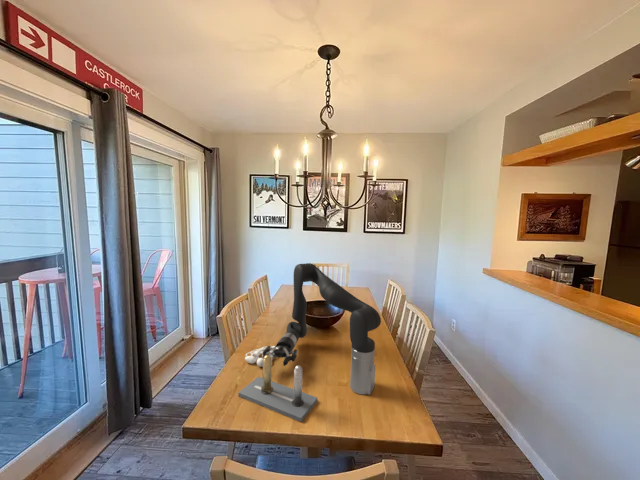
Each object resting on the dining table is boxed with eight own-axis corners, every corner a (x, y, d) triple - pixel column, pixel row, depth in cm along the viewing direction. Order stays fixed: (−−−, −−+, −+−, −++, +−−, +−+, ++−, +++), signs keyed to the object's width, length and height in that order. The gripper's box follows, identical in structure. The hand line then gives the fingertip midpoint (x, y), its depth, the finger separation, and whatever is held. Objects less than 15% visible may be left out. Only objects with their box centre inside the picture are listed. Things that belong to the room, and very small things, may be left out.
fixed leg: (303, 401, 104) (304, 365, 103) (299, 406, 102) (299, 369, 100) (296, 399, 106) (296, 362, 104) (292, 403, 103) (292, 366, 101)
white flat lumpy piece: (265, 347, 150) (265, 339, 150) (288, 352, 143) (287, 344, 143) (239, 363, 133) (238, 354, 133) (263, 369, 126) (262, 360, 126)
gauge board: (317, 401, 107) (317, 397, 107) (301, 422, 96) (301, 417, 96) (258, 379, 119) (258, 376, 119) (238, 396, 109) (238, 392, 109)
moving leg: (273, 389, 110) (274, 354, 109) (268, 394, 108) (268, 358, 106) (265, 386, 112) (265, 352, 111) (260, 390, 109) (260, 355, 108)
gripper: (272, 334, 133) (258, 351, 118) (301, 338, 131) (290, 355, 115) (272, 349, 134) (258, 368, 118) (301, 353, 131) (290, 373, 116)
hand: (274, 362), depth 117 cm, fingers open, 8 cm apart
